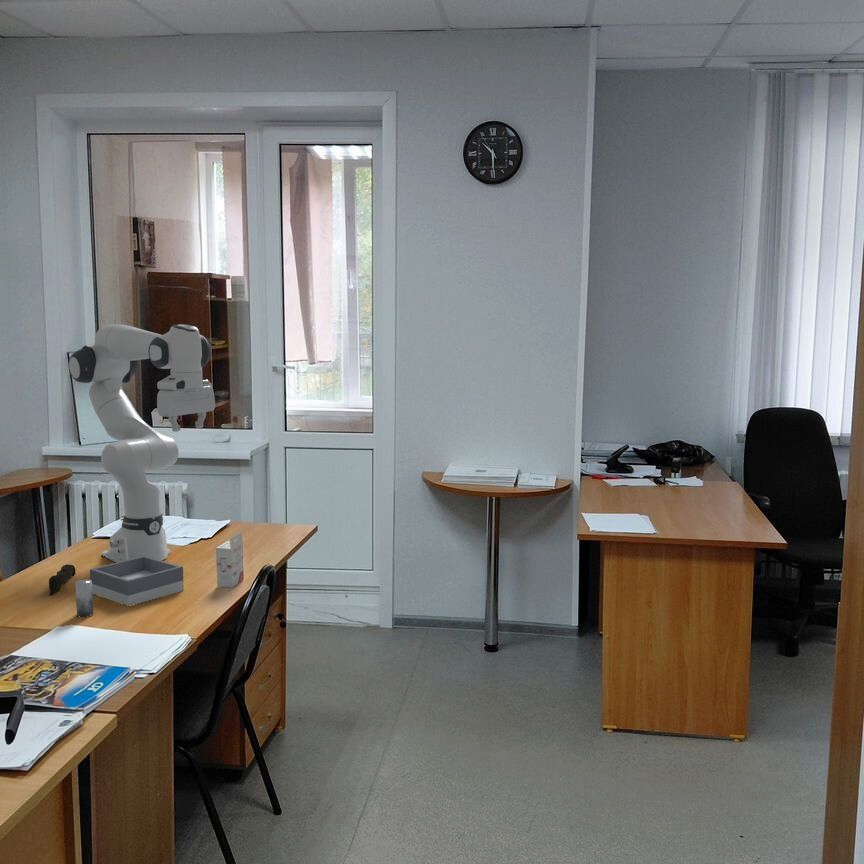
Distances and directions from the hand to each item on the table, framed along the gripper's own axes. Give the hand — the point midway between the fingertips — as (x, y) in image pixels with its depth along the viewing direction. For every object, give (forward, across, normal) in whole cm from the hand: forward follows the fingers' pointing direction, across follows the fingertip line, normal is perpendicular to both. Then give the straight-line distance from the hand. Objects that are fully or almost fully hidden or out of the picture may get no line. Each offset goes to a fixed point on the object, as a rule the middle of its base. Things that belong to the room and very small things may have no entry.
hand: (188, 429), depth 261 cm
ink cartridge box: (+45, -4, +11) cm, 47 cm away
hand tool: (+46, +22, -29) cm, 58 cm away
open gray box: (+45, +16, -6) cm, 48 cm away
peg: (+45, +36, -3) cm, 58 cm away
